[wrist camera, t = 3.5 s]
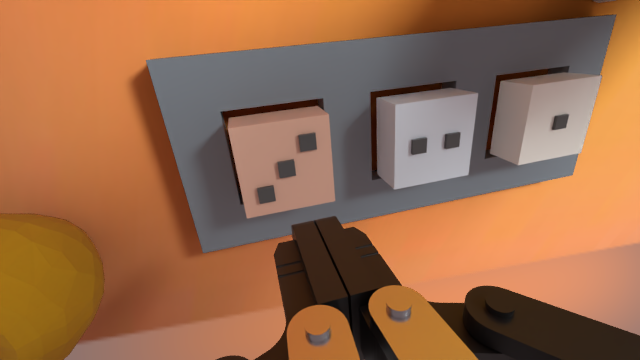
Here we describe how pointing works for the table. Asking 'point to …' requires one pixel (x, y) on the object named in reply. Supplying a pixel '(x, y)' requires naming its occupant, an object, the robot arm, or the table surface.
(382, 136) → the tile two
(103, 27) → the table surface
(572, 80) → the tile one
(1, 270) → the apple
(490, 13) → the table surface
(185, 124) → the button board
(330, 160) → the tile three
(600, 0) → the coffee box
